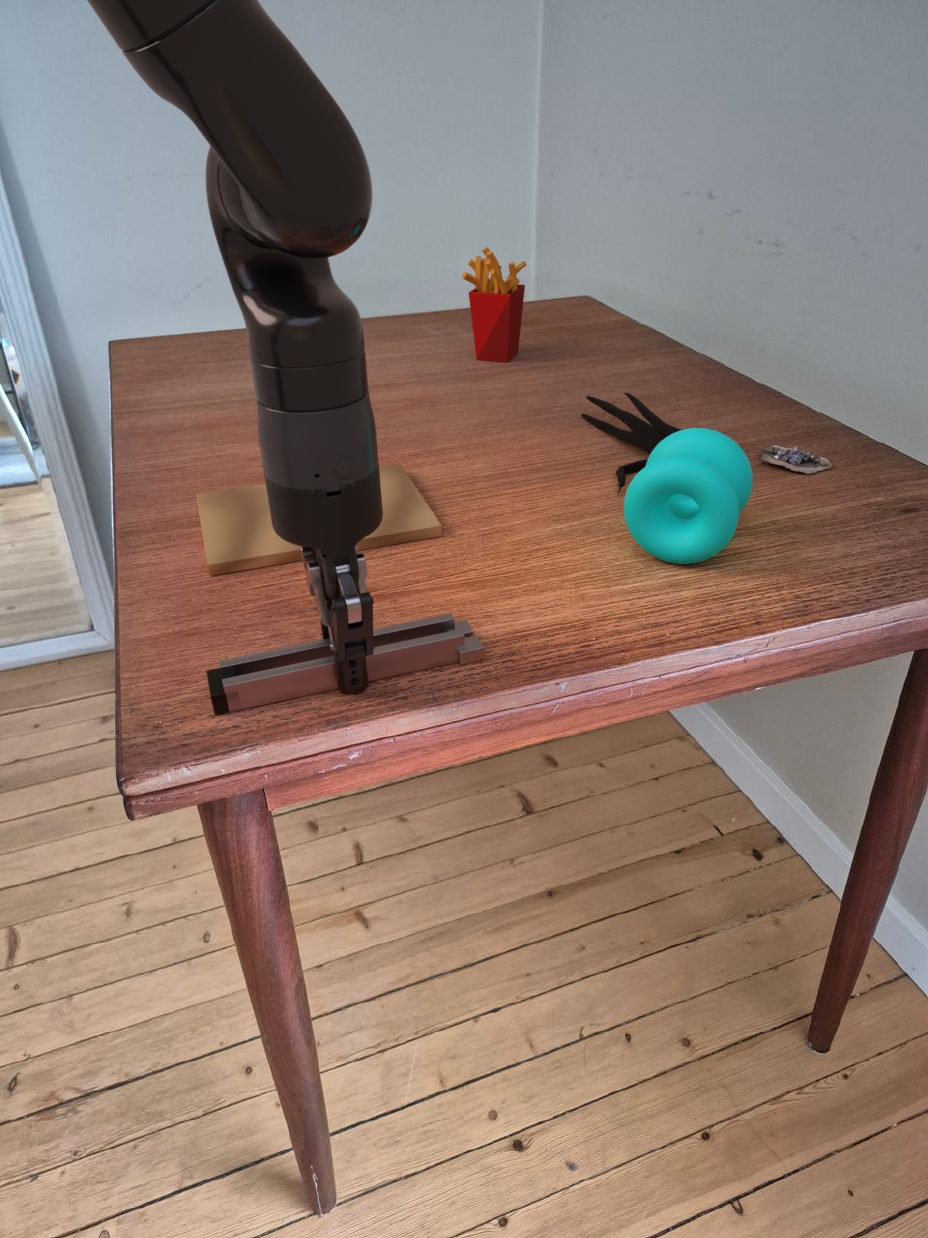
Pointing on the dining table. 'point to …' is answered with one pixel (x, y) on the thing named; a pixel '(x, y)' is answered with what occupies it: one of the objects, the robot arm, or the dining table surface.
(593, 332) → the dining table surface
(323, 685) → the steel tongs
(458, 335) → the dining table surface
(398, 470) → the cutting board
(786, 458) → the crystal mineral rock
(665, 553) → the teal yo-yo
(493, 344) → the french fries
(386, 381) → the dining table surface
